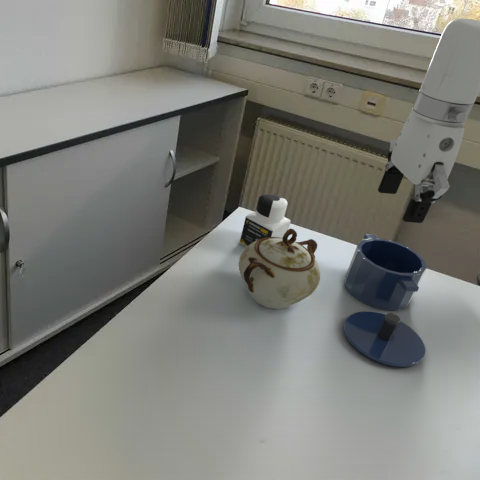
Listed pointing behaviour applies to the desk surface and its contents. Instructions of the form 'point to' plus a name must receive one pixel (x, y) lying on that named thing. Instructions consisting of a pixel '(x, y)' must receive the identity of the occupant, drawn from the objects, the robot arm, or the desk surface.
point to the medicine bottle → (266, 220)
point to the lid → (384, 338)
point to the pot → (384, 273)
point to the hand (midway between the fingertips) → (398, 206)
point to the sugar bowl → (280, 270)
